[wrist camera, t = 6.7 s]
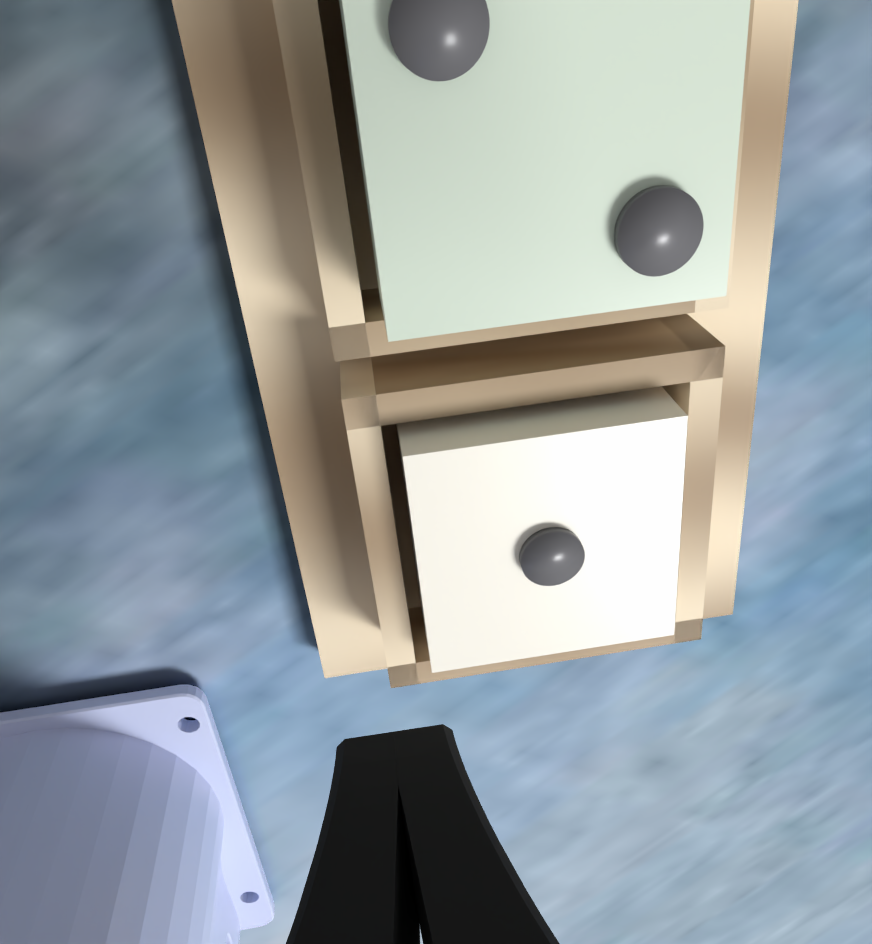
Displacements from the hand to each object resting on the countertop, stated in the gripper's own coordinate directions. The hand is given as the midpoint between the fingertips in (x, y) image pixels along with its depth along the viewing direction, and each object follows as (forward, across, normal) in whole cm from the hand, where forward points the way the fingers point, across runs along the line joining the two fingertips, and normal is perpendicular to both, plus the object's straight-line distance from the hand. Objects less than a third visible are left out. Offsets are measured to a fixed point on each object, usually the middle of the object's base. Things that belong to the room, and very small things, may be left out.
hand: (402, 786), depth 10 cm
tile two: (+7, -3, -7) cm, 10 cm away
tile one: (+8, -3, +1) cm, 8 cm away
